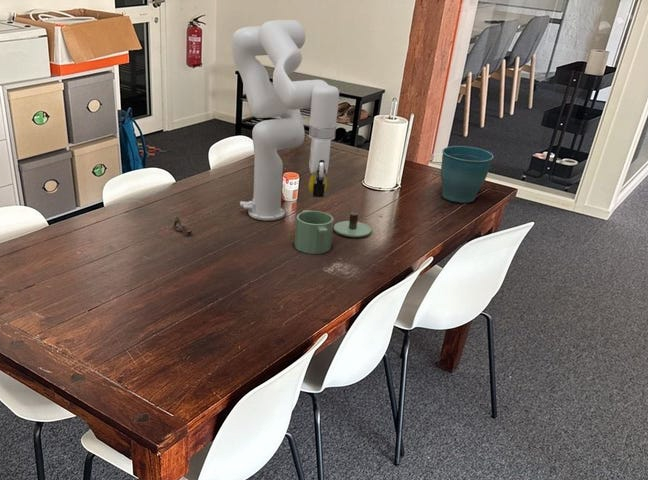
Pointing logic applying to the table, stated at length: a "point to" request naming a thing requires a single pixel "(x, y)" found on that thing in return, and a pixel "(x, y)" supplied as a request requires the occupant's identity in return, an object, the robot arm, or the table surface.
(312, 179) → the lemon
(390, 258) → the table surface
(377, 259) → the table surface
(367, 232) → the lid
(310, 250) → the crock
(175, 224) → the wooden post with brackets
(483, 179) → the flower pot
